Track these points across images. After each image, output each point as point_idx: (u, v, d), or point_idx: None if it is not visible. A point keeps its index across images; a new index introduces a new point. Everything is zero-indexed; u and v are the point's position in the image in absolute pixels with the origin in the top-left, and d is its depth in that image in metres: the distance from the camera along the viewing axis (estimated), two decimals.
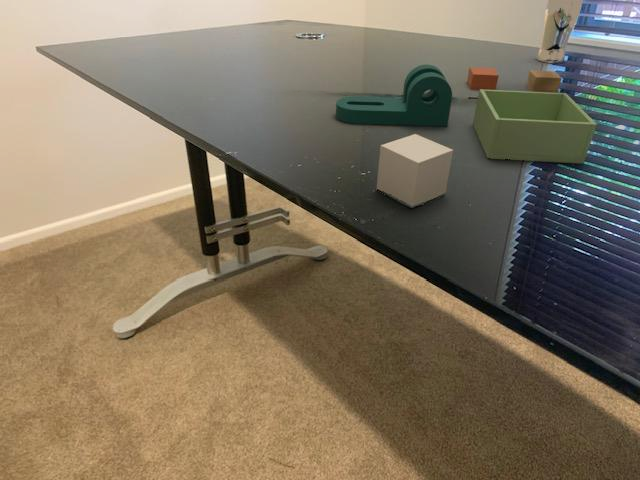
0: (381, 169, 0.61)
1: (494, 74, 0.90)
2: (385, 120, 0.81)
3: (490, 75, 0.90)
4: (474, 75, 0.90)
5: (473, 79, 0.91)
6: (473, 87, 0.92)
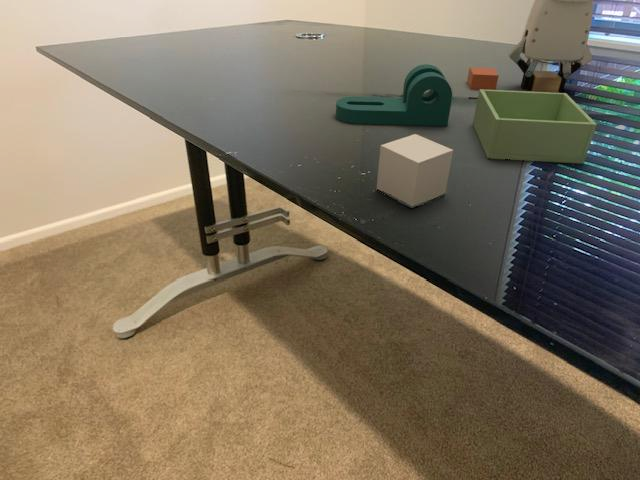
0: (381, 169, 0.61)
1: (494, 74, 0.90)
2: (385, 120, 0.81)
3: (490, 75, 0.90)
4: (474, 75, 0.90)
5: (473, 79, 0.91)
6: (473, 87, 0.92)
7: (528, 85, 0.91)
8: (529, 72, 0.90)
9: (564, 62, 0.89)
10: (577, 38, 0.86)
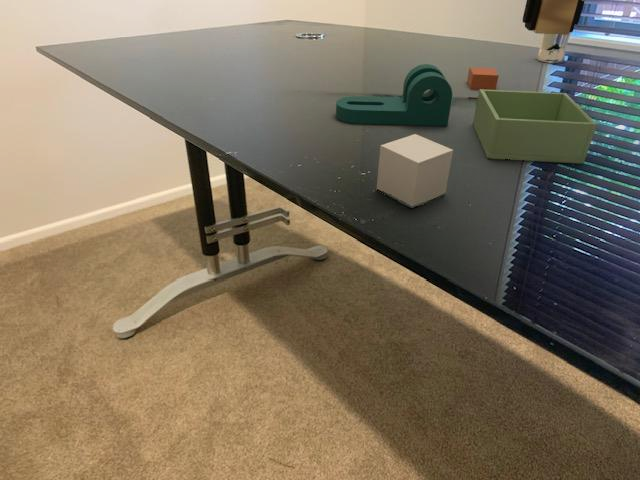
0: (381, 169, 0.61)
1: (494, 74, 0.90)
2: (385, 120, 0.81)
3: (490, 75, 0.90)
4: (474, 75, 0.90)
5: (473, 79, 0.91)
6: (473, 87, 0.92)
7: (533, 11, 0.69)
8: None
9: None
10: None
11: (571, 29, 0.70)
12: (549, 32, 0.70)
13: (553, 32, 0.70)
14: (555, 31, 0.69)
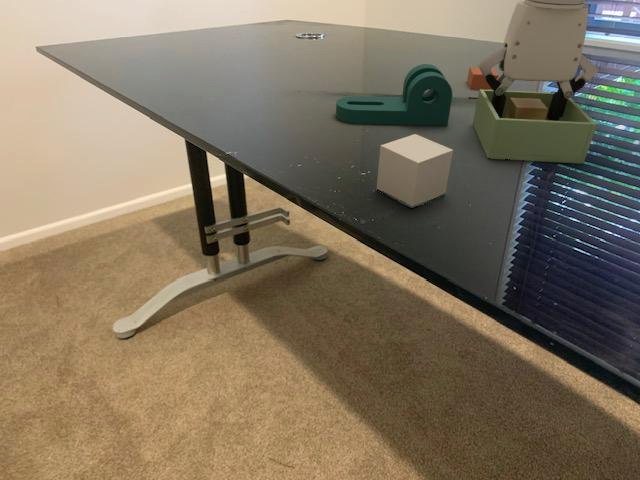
0: (381, 169, 0.61)
1: (494, 74, 0.90)
2: (385, 120, 0.81)
3: None
4: (474, 75, 0.90)
5: (473, 79, 0.91)
6: (473, 87, 0.92)
7: (499, 105, 0.75)
8: (500, 90, 0.73)
9: (560, 81, 0.72)
10: (568, 53, 0.69)
11: None
12: None
13: None
14: None
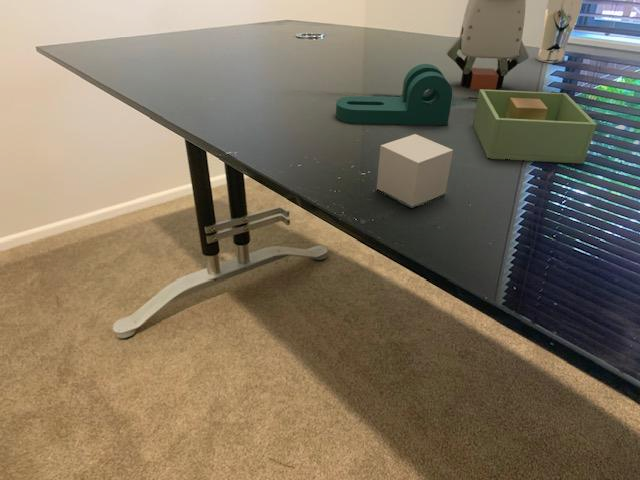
0: (381, 169, 0.61)
1: (494, 74, 0.90)
2: (386, 120, 0.81)
3: (490, 75, 0.90)
4: (474, 75, 0.90)
5: (473, 79, 0.91)
6: (473, 87, 0.92)
7: (467, 82, 0.92)
8: (467, 69, 0.91)
9: (500, 59, 0.89)
10: (511, 35, 0.86)
11: None
12: None
13: None
14: None
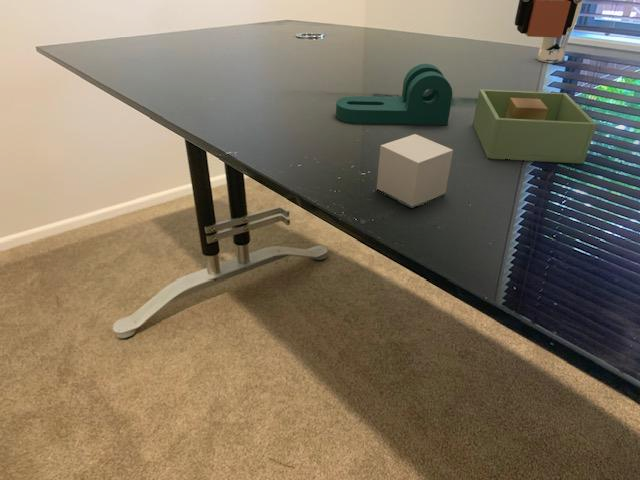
0: (381, 169, 0.61)
1: (564, 1, 0.66)
2: (386, 119, 0.81)
3: (559, 2, 0.66)
4: (537, 2, 0.66)
5: (536, 8, 0.66)
6: (535, 19, 0.67)
7: (525, 14, 0.68)
8: None
9: None
10: None
11: (564, 32, 0.68)
12: None
13: None
14: None
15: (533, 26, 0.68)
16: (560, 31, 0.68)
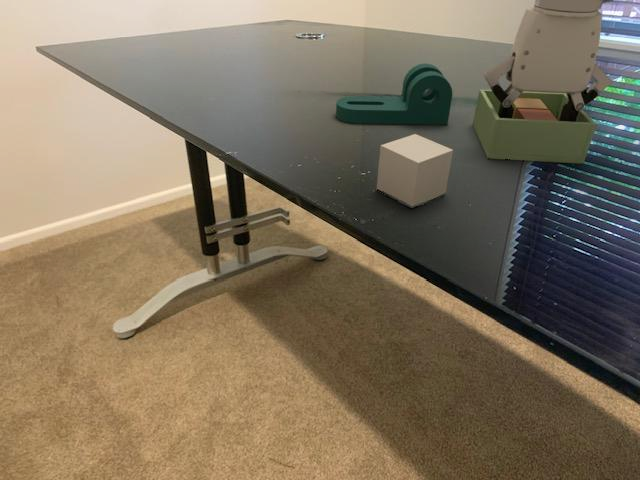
0: (381, 169, 0.61)
1: (552, 119, 0.69)
2: (386, 119, 0.81)
3: None
4: None
5: None
6: None
7: None
8: (507, 102, 0.69)
9: (571, 93, 0.68)
10: (580, 63, 0.65)
11: None
12: None
13: None
14: None
15: None
16: None
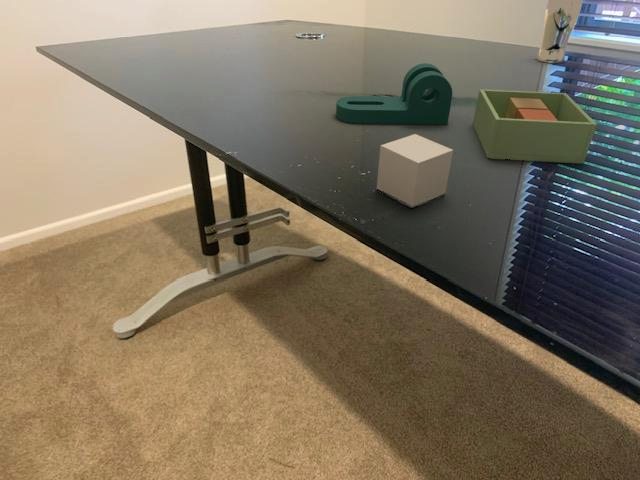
0: (381, 169, 0.61)
1: (552, 119, 0.69)
2: (386, 119, 0.81)
3: None
4: None
5: None
6: None
7: None
8: None
9: None
10: None
11: None
12: None
13: None
14: None
15: None
16: None
